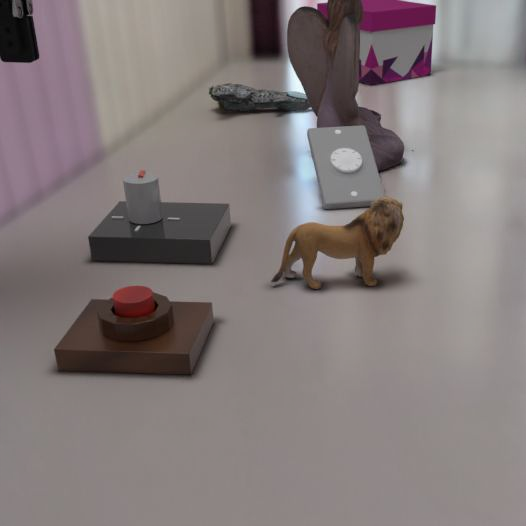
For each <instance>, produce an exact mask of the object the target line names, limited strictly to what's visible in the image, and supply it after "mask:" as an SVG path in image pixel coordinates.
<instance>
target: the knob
mask: <svg viewBox="0 0 526 526" xmlns="http://www.w3.org/2000/svg"><path fill="white" fill-rule="evenodd" d="M159 181H160V180H159V176H158V175H157V174H155V173H151V172H146V170H145V169H141V170H139V172H136V173H131V174H128V175H125V176H124V177H123V178H122V183H123V191H124V199H125V201H126V206H127V213H128V220H129V221H130V222H131V223H135V224H151V223H155V222H158V221H160V220H161V219H162V217H163V215H162V207H161V202H162V199H161V192H160V191H161V190H160V182H159Z"/></svg>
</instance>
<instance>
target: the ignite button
mask: <svg viewBox="0 0 526 526" xmlns="http://www.w3.org/2000/svg"><path fill="white" fill-rule="evenodd" d="M153 292H154V291H153V289H151V288H150V287H149V286H144V285H130V286H125V287H121V288H119V289H117V290H116V291H115V292H113V294H112V297H111V298H113V304H114V310H115V314H116V316H119V317H122V318H137V317H142V316H146V315H149V314H151V313H152V312H154V311H155V303H154V295H153Z"/></svg>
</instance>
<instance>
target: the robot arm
mask: <svg viewBox="0 0 526 526" xmlns="http://www.w3.org/2000/svg"><path fill="white" fill-rule="evenodd" d="M33 14H34V4H33V0H0V60H1V61H2V62H3V63H19V64H20V63H21V64H31V63H33V62H36V61H38V60H40V50H39V45H38V40H37V39H38V38H37V33H36V28H35V21H34V16H33Z"/></svg>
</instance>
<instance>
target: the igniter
mask: <svg viewBox="0 0 526 526" xmlns="http://www.w3.org/2000/svg"><path fill="white" fill-rule="evenodd" d="M153 295H154V303H155V311H154V312H152V313H151V314H149V315H146V316H142V317H137V318H122V317H119V316H116V314H115V310H114V304H113V297H110V298H109V299H106V298H105V299H103V298H102V299H101V298H99V299H98V298H92V299H90V301H89V302H88V303H87V304H86V306H85V307H84V308H83V309H82V311H81V313H80V314H79V315H78V316H77V318H76V319H75V320H74V322H73V323H72V324H71V326H70V327H69V328H68V330H67V331H66V332H65V334H64V335H63V337H62V338H61V339H60V340H59V342H58V343H57V345H56V346H55V347H54V348H53V351H54V356H55V361H56V365H57V370H58V371H60V372H61V371H64V372H66V371H67V372H90V373H91V372H94V373H96V372H97V373H123V374H124V373H126V374H127V373H128V374H156V375H158V374H159V375H184V376H185V375H186V376H187V375H189V376H190V375H192V374H193V372H194V369H195V367H196V365H197V362H198V361H199V357H200V355H201V353H202V350H203V349H204V346H205V344H206V341H207V340H208V336H209V334H210V332H211V329H212V327H213V325H214V323H215V320H214V310H213V309H214V308H213V302H211V301H210V302H209V301H208V302H207V301H177V300H176V301H171V300H170V299H169V298H168V297H167V296H166V295H164V294H160V293H157V292H155V291H153Z"/></svg>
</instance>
